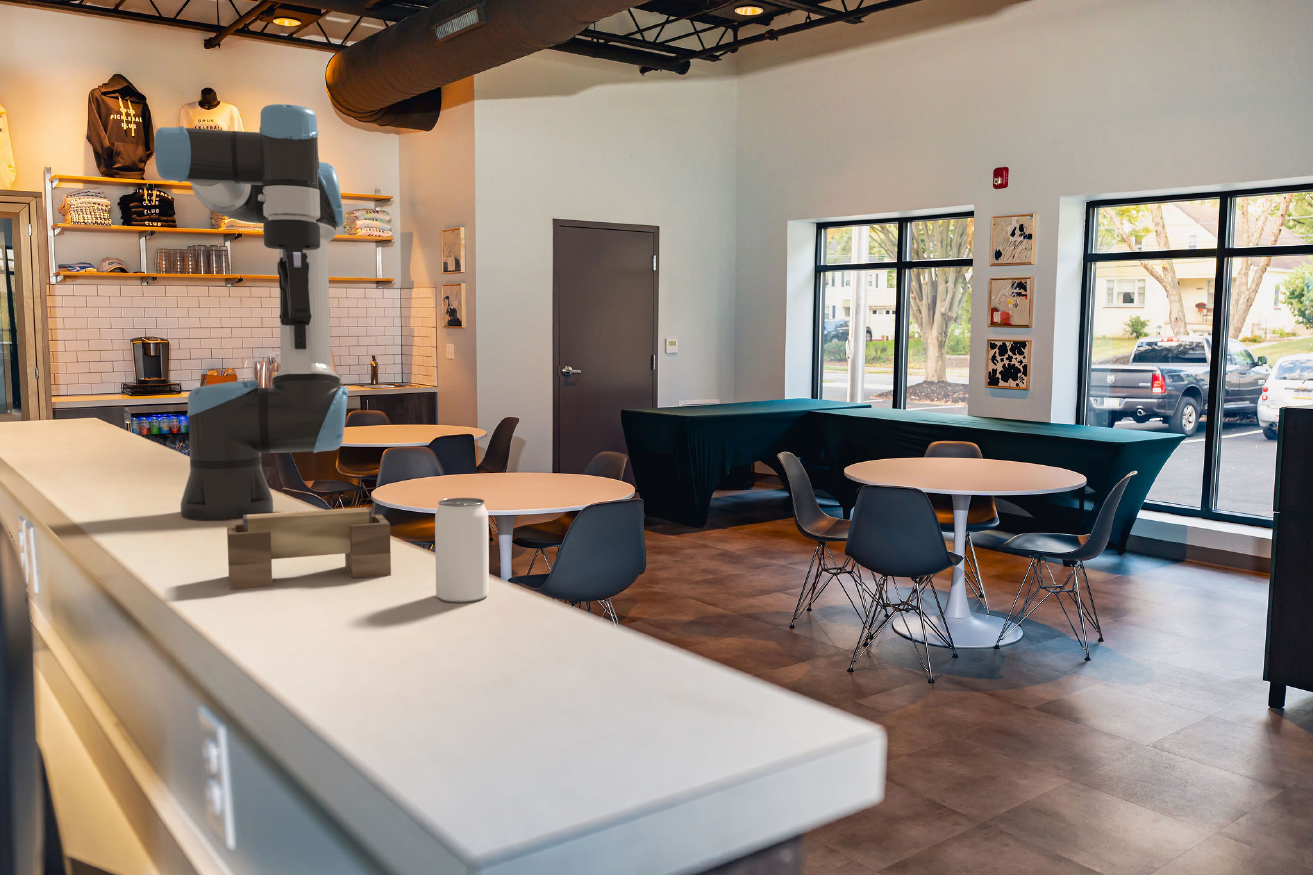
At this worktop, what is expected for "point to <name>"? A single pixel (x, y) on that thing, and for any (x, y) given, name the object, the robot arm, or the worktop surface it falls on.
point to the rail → (308, 531)
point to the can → (462, 550)
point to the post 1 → (248, 557)
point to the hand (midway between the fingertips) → (296, 371)
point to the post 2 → (369, 549)
